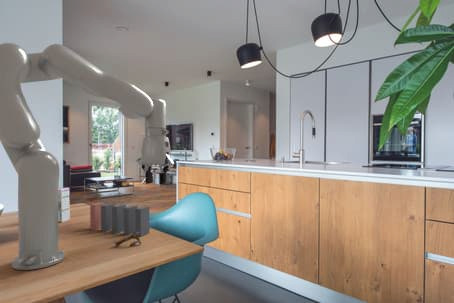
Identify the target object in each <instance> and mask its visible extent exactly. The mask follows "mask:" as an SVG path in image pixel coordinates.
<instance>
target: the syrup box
mask: <svg viewBox="0 0 454 303" xmlns="http://www.w3.org/2000/svg"><path fill="white" fill-rule="evenodd" d="M70 208H71V207H70V187H58V223H63V222H67V221H69V220H70V219H71V215H70V213H71V212H70V210H71V209H70Z"/></svg>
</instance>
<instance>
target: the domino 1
mask: <svg viewBox="0 0 454 303" xmlns="http://www.w3.org/2000/svg"><path fill="white" fill-rule="evenodd" d="M105 203H106V202H95V203H91V204H90V205H89V215H90V216H89V220H90V221H89V224H90V225H89V226H90V227H89V229H90V231H98V230H101V205H105Z"/></svg>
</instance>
